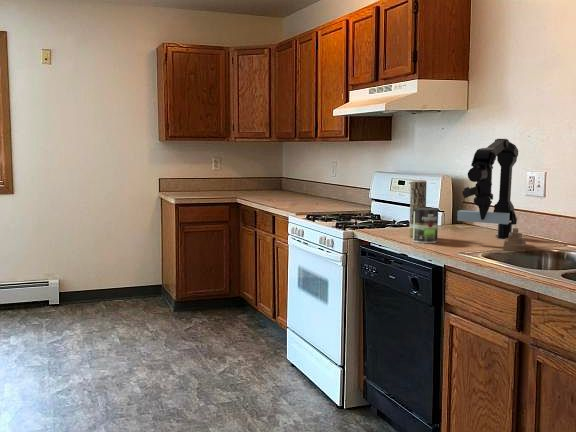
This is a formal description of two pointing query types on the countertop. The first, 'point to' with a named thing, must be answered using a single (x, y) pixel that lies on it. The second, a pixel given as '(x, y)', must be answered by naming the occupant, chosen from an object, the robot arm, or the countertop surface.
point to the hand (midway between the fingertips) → (482, 218)
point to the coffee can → (425, 225)
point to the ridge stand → (515, 241)
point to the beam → (489, 218)
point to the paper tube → (416, 199)
